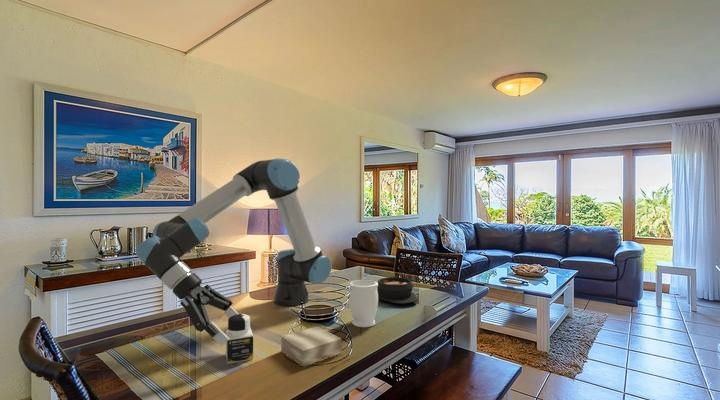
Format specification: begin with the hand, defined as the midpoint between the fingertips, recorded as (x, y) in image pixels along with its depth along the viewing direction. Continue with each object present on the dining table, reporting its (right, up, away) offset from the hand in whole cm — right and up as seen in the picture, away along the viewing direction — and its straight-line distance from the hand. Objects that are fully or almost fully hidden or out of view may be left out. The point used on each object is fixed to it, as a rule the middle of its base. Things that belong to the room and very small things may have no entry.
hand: (234, 332), depth 104 cm
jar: (+38, -7, +27) cm, 47 cm away
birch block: (+22, -8, +3) cm, 23 cm away
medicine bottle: (+1, -7, +1) cm, 8 cm away
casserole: (+52, -6, +58) cm, 78 cm away
